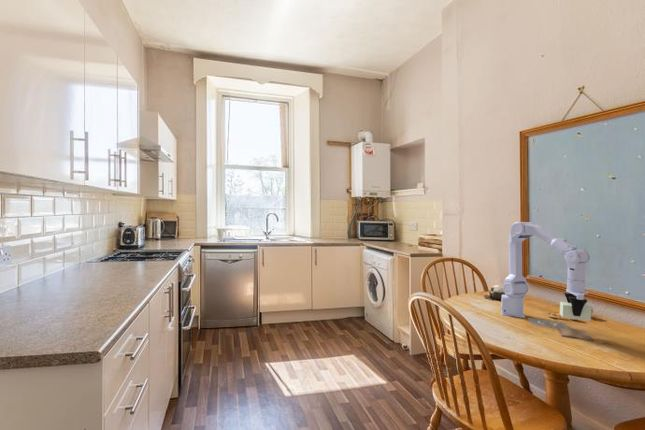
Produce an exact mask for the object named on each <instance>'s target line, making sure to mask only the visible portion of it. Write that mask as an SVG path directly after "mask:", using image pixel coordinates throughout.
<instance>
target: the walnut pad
mask: <svg viewBox="0 0 645 430" xmlns="http://www.w3.org/2000/svg"><path fill="white" fill-rule="evenodd" d="M555 329H556V331H557V332H558V333H559V335H560V336H561V337H565V338H570V339H577V340H582V341H583V340H584V341H591V342H594V338H593V337H592V336H591V335H590V334H589V332H587V331H586V330H579V329H572V328H569V329H567V328H559V327H556V328H555Z"/></svg>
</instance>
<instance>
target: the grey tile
mask: <svg viewBox="0 0 645 430" xmlns="http://www.w3.org/2000/svg"><path fill="white" fill-rule="evenodd" d="M527 319H528V322H529V324H530V325H532V326H533V325H535V326H541V327H542V326H543V327H547V328H553V329H556V327H559V328H567V329H570V328H569V326H568V325H567V324H566V322H561V321H553V320H546V319H540V318H532V317H527Z"/></svg>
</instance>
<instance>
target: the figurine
mask: <svg viewBox="0 0 645 430" xmlns="http://www.w3.org/2000/svg"><path fill="white" fill-rule="evenodd" d="M547 314H548V315H547V317H548V318H550V319H554V318H563V317H562V316H561V315H560V312H559V313H558V311H557V312H551V311H547ZM570 320H571V321H578V319H570Z"/></svg>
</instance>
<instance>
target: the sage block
mask: <svg viewBox="0 0 645 430" xmlns="http://www.w3.org/2000/svg"><path fill="white" fill-rule="evenodd" d="M559 313H560V315H561V316H562V317H561V318H564V319H570V320H571V319H578V320H579V321H587V322H592V314H591V308H590V307H589V306H588V305H584V307H583V309H582V313H581V315H580V316H574V315H573V312H572V305H571V303H568V302H567V301H565V302H564V301H559ZM578 320H577V321H578Z"/></svg>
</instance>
